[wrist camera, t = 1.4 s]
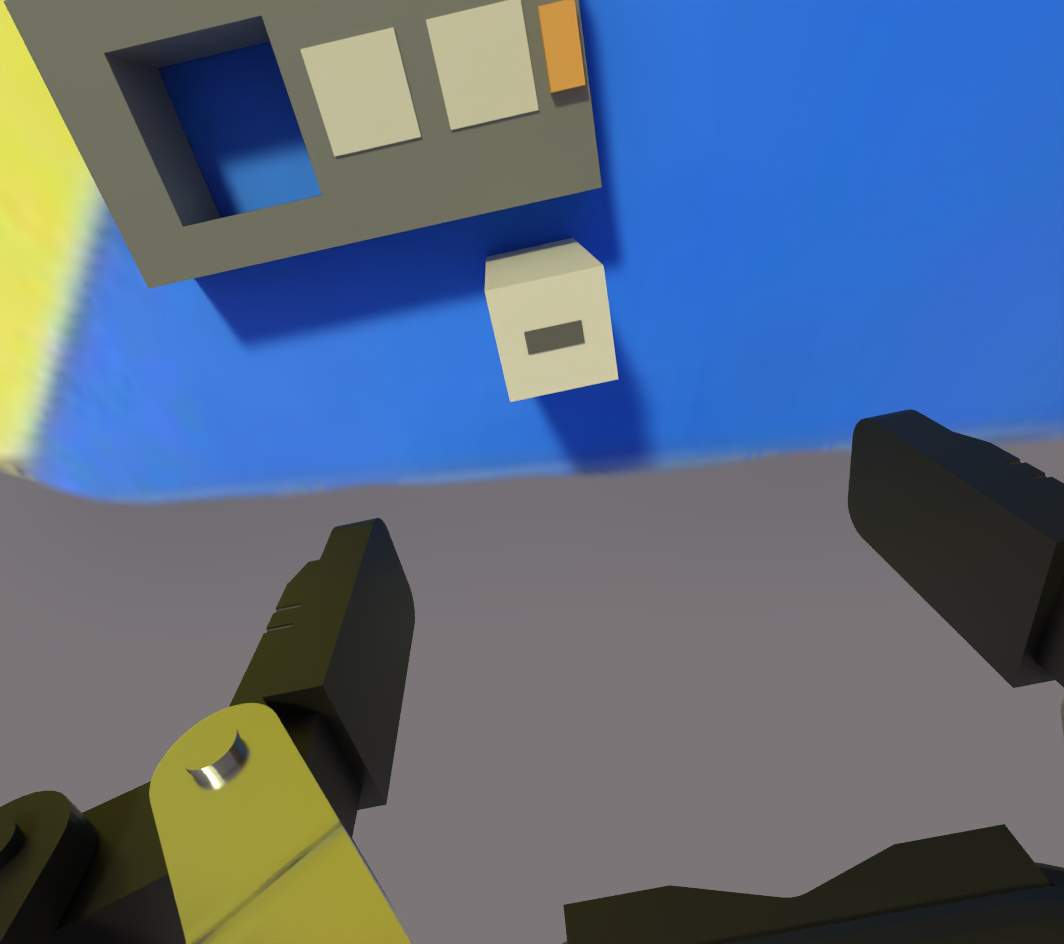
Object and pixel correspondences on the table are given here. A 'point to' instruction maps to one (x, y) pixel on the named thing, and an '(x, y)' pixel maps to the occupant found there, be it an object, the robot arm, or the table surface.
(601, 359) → the cream rectangular block
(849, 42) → the table surface
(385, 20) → the power strip
